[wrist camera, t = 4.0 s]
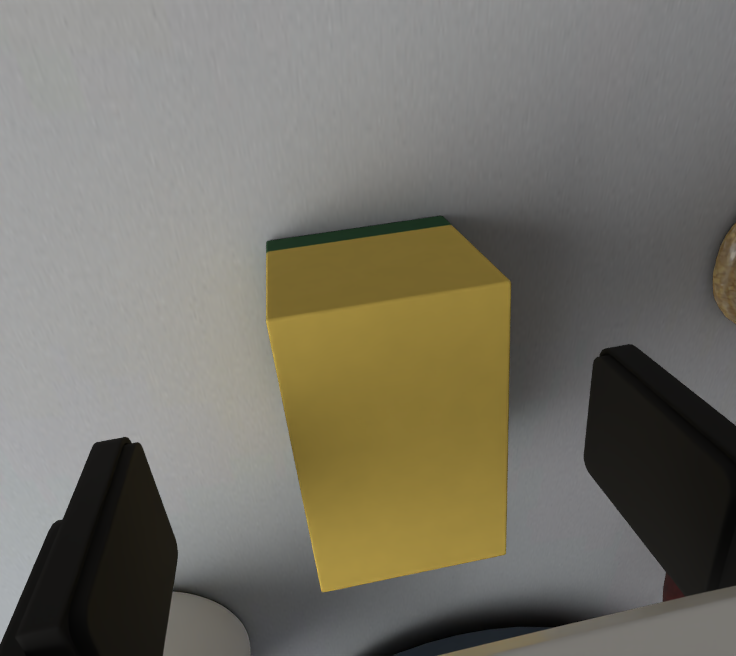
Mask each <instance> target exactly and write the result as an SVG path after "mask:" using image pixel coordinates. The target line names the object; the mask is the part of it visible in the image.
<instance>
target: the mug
mask: <svg viewBox="0 0 736 656" xmlns="http://www.w3.org/2000/svg"><path fill="white" fill-rule="evenodd" d="M163 656H251V648H250V641H249V637H248V634H247V631H246V629H245V627H244V626H243V624H242V623H241V622H240V620H239V619H238V618H237V617H236V616H235V615H234V614H233V613H232V612H230V611H229V610H228V609H226V608H225V607H223V606H222V605H220V604H218V603H216V602H214V601H212V600H209V599H207V598H204V597H200V596H197V595H193V594H188V593H182V592H173V593H172V599H171V606H170V612H169V619H168V625H167V632H166V639H165V645H164V652H163Z"/></svg>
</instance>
